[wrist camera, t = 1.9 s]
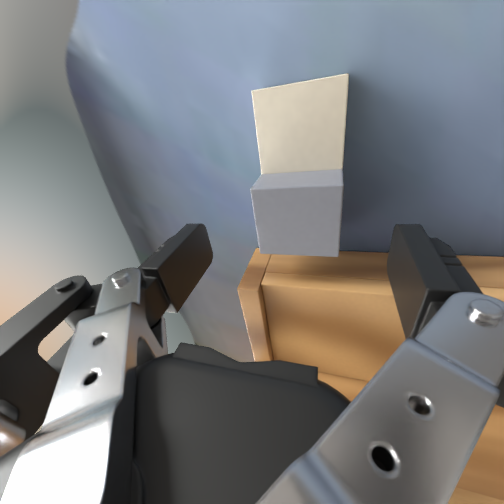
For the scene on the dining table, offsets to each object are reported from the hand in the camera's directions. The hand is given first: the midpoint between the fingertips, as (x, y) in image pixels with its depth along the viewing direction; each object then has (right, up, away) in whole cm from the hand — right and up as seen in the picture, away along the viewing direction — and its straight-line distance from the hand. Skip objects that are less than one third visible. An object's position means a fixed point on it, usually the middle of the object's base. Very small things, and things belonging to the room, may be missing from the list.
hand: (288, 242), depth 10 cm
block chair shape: (+1, +5, +4) cm, 6 cm away
